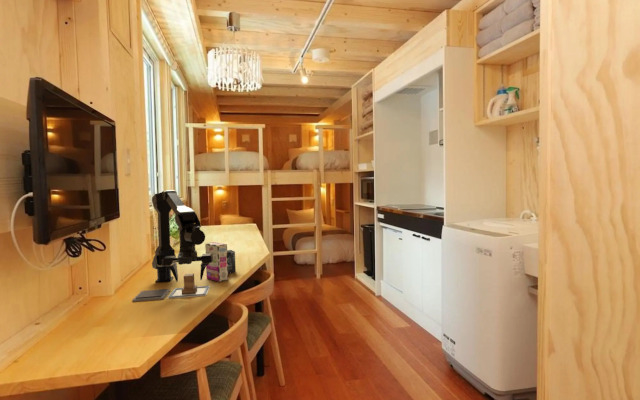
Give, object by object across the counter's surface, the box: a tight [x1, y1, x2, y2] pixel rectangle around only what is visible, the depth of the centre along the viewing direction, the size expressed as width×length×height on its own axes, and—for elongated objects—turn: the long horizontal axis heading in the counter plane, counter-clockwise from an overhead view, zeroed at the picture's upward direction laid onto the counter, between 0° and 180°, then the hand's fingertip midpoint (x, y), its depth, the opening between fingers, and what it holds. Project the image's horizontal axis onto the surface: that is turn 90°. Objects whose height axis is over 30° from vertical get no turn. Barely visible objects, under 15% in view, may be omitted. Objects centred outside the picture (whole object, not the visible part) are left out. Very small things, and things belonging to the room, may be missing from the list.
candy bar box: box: [205, 241, 229, 283], centre depth 165 cm, size 11×5×16 cm, turn 47°
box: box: [227, 249, 237, 275], centre depth 177 cm, size 8×6×11 cm
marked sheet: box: [166, 285, 211, 300], centre depth 147 cm, size 12×14×1 cm
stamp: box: [181, 273, 198, 294], centre depth 146 cm, size 5×5×7 cm
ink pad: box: [131, 288, 171, 303], centre depth 143 cm, size 11×11×1 cm
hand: (189, 280), depth 146 cm, fingers open, 9 cm apart
